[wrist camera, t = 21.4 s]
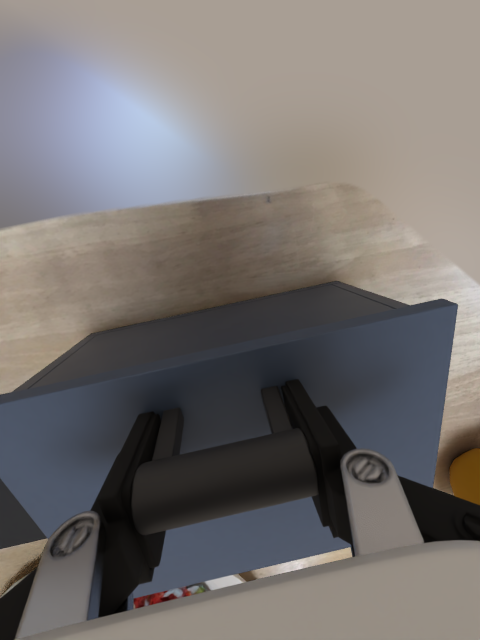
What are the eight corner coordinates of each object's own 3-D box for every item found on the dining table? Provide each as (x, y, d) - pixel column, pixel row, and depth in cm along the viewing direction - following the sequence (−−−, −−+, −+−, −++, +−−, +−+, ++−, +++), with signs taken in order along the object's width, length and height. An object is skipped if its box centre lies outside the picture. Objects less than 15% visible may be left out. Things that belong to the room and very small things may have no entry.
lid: (-33, 401, 11) (-218, 546, 6) (442, 297, 11) (608, 359, 6) (105, 588, 16) (63, 739, 12) (418, 515, 17) (497, 631, 12)
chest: (90, 333, 21) (4, 396, 12) (337, 280, 21) (417, 307, 13) (143, 469, 25) (106, 588, 16) (350, 422, 25) (417, 514, 17)
